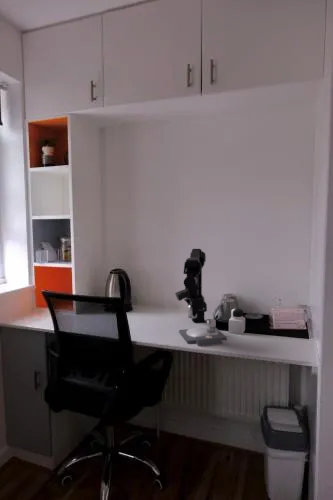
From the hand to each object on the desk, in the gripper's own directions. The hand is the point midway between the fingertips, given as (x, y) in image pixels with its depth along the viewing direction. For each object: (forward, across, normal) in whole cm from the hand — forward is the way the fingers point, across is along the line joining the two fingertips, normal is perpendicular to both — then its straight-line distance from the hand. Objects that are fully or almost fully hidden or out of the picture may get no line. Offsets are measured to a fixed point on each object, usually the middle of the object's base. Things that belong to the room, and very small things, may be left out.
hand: (192, 315), depth 163 cm
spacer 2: (+9, 0, +10) cm, 14 cm away
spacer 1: (+1, 0, 0) cm, 1 cm away
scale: (+11, +2, +5) cm, 13 cm away
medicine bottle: (+12, -2, +25) cm, 28 cm away
